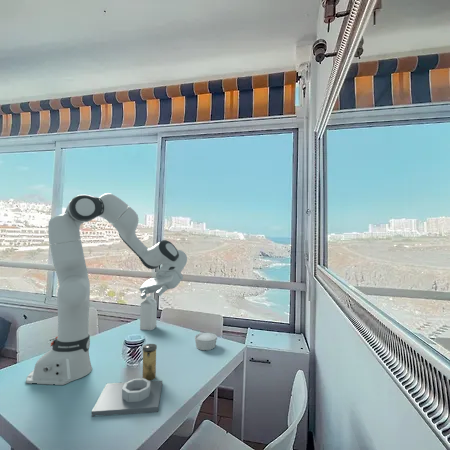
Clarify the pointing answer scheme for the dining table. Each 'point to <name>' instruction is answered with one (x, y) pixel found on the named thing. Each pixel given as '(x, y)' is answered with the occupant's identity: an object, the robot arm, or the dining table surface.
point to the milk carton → (148, 314)
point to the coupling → (149, 361)
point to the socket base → (129, 397)
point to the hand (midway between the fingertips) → (150, 296)
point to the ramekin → (205, 341)
